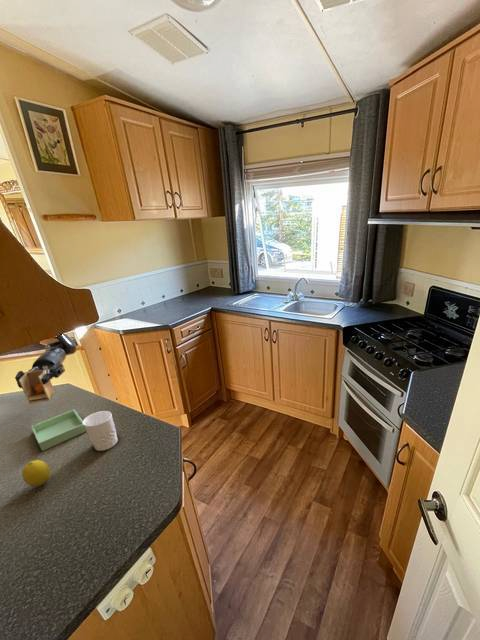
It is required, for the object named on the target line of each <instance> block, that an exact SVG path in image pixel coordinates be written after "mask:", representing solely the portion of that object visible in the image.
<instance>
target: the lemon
mask: <svg viewBox="0 0 480 640" xmlns="http://www.w3.org/2000/svg"><path fill="white" fill-rule="evenodd" d="M50 469H51V468H50V467H49V465H48V464H47V463H46V462H45V461H43V460H38V459H36V460H35V459H34V460H30V461H29V462H28V463H26V465H25V466H24V467H23V469H22V472H21V473H22V479H23V481H24V482H25V483H26V484H27V485H28V486H31V487H39V486H43V485H44V484H45V483H46V482H47V481H48V480H49V478H50V476H51V470H50Z"/></svg>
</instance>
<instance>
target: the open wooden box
mask: <svg viewBox="0 0 480 640" xmlns="http://www.w3.org/2000/svg"><path fill="white" fill-rule="evenodd" d="M27 372H28V371H27ZM45 374H46V370H40V371H34V372H28V373H25V374H24V375H23V376H22V378H21V379H20V380H19V383H20V385H21V387H22V388H21V389H22V391H23V393H24V395H25V398H26V399H27V402H28V404H29V405H32V404H38V403H43V402H49V401H51V400H52V398H53V396H54V395H55V393H56V390H55V388H54V386H53V383H52V381H51V380H49V382H47V383H46V384H43V383H42V381H41V378H42V377H43V376H44V375H45ZM39 384H41V385H42V387H43V389H44V392H43V393H38V392H36V391H35V387H36V386H37V385H39Z"/></svg>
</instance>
